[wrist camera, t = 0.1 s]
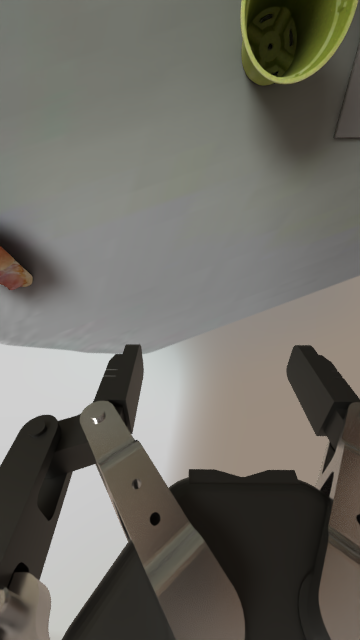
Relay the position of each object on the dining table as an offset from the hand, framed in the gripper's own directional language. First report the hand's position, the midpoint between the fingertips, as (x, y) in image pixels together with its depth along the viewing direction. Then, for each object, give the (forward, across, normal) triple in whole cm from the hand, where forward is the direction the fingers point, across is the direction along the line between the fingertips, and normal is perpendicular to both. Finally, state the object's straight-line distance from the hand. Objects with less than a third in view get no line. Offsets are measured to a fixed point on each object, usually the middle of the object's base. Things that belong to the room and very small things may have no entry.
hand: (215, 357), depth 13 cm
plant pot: (+30, -8, -20) cm, 36 cm away
